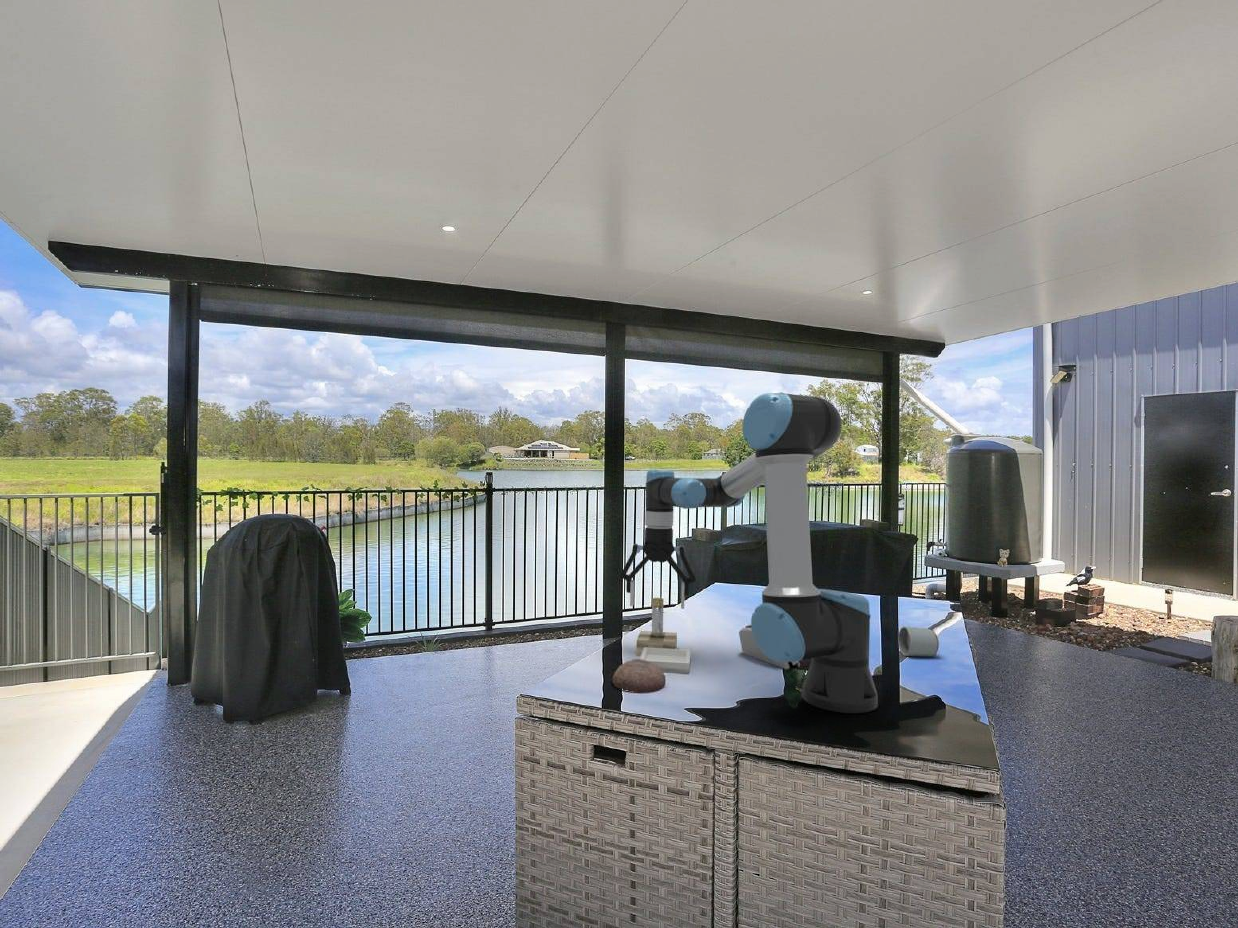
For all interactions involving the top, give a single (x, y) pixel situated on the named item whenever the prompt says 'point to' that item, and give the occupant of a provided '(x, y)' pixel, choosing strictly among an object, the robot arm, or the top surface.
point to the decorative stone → (639, 676)
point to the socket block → (656, 641)
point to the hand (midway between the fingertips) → (657, 606)
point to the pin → (657, 617)
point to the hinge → (753, 650)
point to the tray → (668, 659)
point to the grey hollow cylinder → (917, 641)
